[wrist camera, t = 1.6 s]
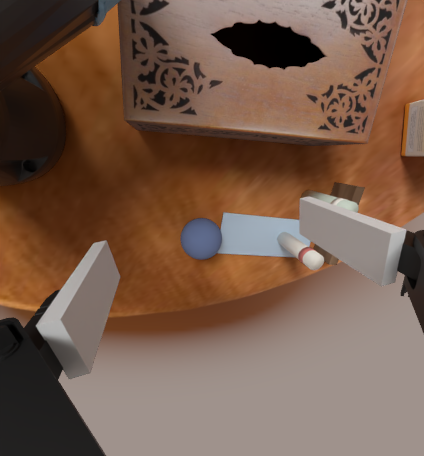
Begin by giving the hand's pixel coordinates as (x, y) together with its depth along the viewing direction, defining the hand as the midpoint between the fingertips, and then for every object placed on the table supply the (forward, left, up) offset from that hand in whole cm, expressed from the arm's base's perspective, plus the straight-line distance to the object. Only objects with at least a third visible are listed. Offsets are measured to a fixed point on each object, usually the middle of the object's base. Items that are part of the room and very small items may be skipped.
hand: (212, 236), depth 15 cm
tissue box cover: (+5, +15, -19) cm, 25 cm away
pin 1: (+18, -6, -19) cm, 26 cm away
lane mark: (+15, -6, -19) cm, 24 cm away
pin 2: (+20, +1, -19) cm, 27 cm away
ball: (+3, -6, -16) cm, 17 cm away
